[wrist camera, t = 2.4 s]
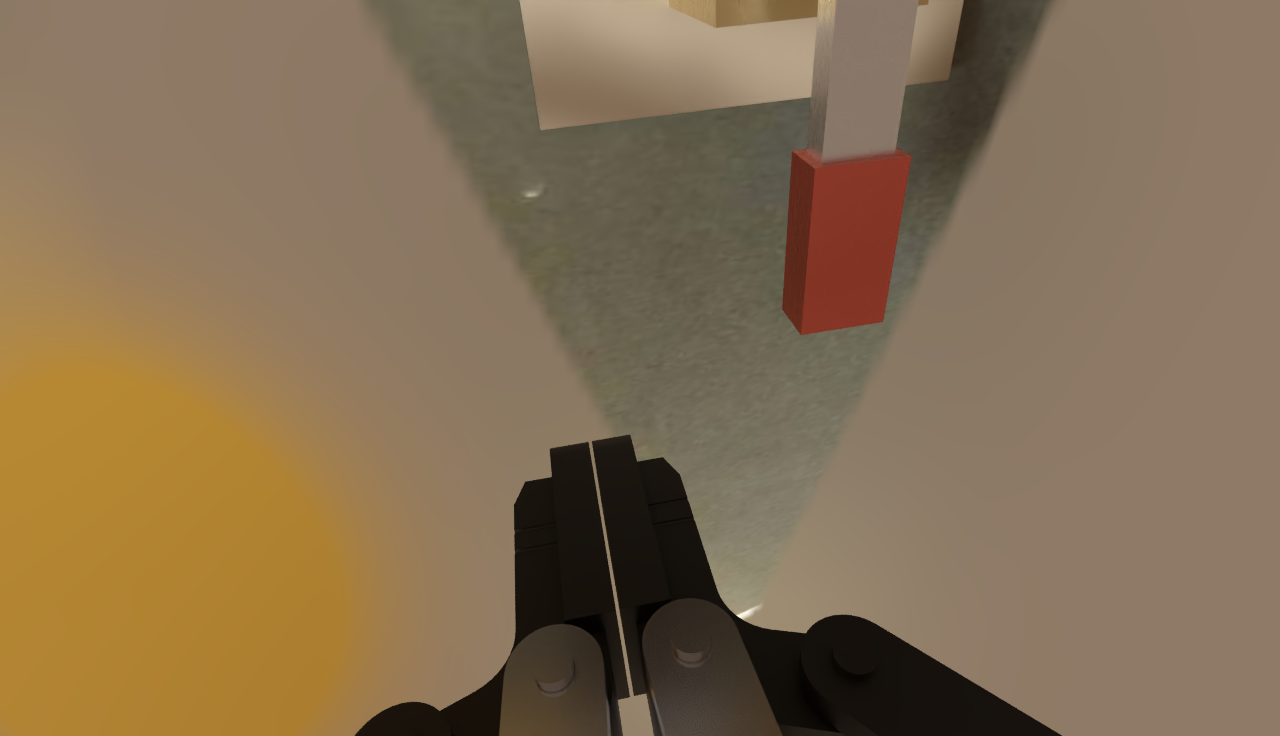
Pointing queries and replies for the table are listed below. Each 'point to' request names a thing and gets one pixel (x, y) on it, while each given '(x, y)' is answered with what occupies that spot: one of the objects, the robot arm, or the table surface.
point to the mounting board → (686, 58)
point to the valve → (748, 10)
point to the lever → (849, 167)
